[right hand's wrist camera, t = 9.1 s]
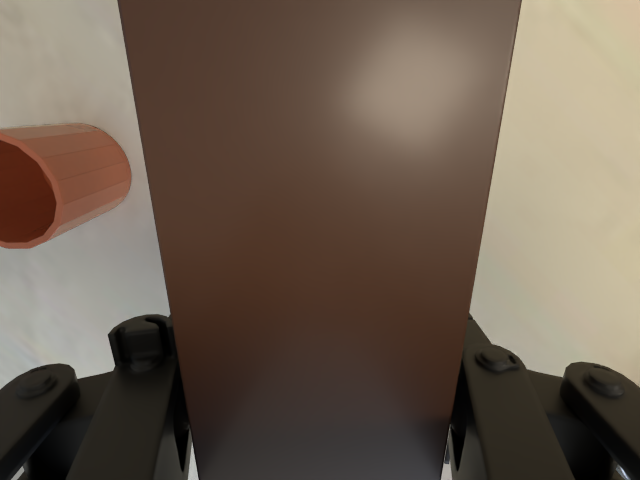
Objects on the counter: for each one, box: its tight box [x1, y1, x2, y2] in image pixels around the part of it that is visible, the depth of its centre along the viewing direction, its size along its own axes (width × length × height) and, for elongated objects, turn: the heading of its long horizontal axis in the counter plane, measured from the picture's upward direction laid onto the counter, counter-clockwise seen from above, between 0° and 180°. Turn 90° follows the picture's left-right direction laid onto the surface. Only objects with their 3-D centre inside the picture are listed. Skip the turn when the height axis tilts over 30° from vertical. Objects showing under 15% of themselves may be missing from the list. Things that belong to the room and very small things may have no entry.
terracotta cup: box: [0, 123, 131, 249], centre depth 24 cm, size 7×7×8 cm
